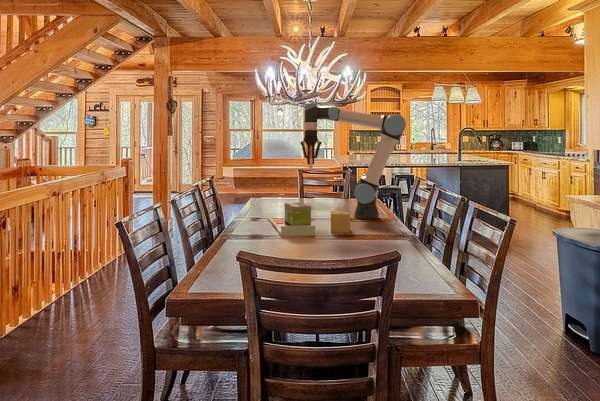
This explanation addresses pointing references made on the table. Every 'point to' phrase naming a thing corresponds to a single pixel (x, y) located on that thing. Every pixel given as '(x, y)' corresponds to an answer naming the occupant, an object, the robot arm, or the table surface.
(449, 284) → the table surface
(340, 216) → the cheese
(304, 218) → the tea box
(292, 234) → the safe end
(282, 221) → the trap pads
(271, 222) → the track rails
